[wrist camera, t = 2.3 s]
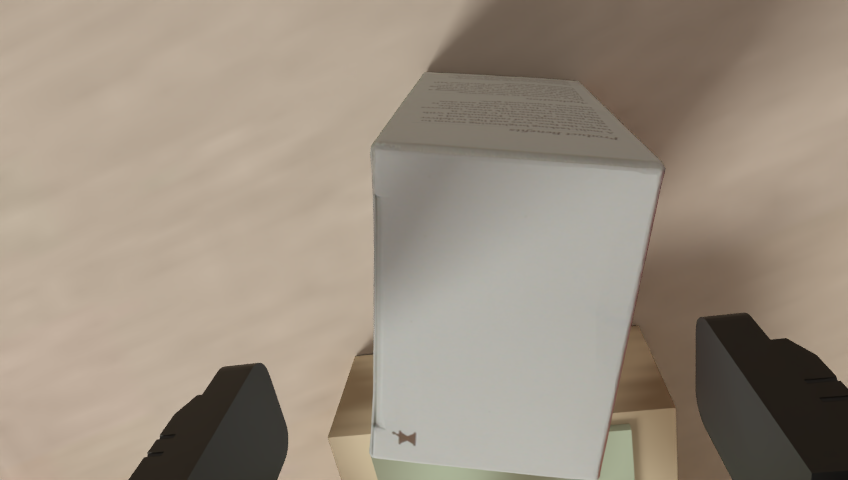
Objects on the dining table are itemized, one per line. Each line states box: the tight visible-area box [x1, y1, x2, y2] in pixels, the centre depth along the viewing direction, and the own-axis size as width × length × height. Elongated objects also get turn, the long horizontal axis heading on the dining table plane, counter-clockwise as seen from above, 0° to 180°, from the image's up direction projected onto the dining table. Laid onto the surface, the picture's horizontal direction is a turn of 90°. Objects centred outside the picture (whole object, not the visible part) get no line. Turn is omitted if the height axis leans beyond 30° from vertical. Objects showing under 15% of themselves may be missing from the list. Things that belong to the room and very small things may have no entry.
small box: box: [369, 72, 665, 480], centre depth 17 cm, size 8×6×10 cm
